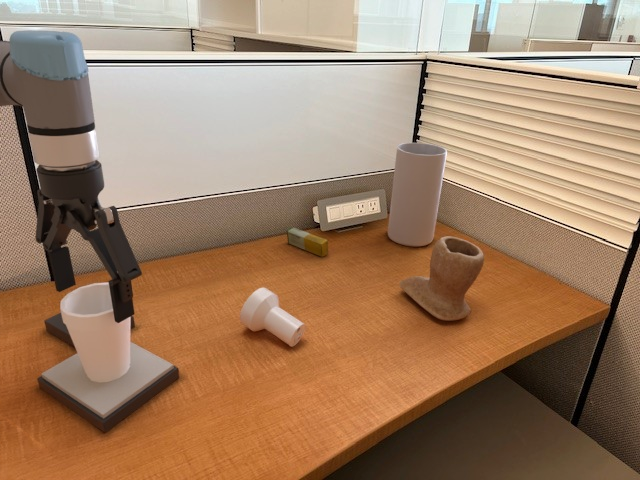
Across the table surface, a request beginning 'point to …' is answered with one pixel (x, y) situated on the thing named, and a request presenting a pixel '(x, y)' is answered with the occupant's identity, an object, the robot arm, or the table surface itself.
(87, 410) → the scale
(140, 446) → the table surface
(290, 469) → the table surface
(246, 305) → the spotlight
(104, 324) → the foam cup
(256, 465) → the table surface
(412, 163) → the cylinder vase
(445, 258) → the stone cup
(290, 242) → the medication box
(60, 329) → the dark grey button base
